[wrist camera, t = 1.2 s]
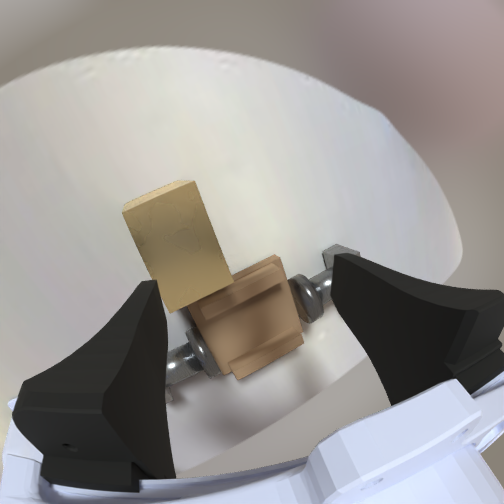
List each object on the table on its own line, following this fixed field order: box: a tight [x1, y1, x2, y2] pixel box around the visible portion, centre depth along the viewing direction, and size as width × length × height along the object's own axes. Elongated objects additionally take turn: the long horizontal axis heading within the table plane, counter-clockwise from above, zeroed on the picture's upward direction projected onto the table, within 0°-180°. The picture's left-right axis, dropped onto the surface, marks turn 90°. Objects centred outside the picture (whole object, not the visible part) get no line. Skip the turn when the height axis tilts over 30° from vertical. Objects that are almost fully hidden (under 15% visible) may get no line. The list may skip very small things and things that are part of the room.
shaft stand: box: [165, 244, 360, 403], centre depth 23 cm, size 20×8×4 cm, turn 111°
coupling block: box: [122, 181, 234, 313], centre depth 18 cm, size 6×4×6 cm, turn 21°
